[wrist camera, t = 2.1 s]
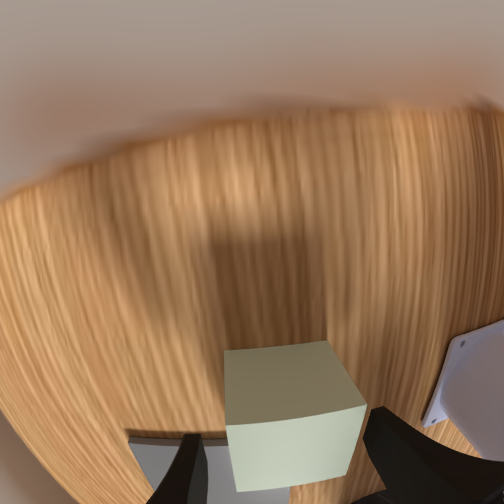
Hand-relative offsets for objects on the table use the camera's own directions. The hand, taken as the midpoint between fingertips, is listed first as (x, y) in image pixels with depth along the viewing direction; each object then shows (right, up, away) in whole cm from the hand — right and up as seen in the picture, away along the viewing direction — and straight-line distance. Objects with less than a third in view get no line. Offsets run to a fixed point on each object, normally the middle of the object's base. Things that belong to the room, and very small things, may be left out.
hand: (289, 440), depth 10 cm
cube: (0, +1, +4) cm, 4 cm away
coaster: (-4, -8, +6) cm, 11 cm away
